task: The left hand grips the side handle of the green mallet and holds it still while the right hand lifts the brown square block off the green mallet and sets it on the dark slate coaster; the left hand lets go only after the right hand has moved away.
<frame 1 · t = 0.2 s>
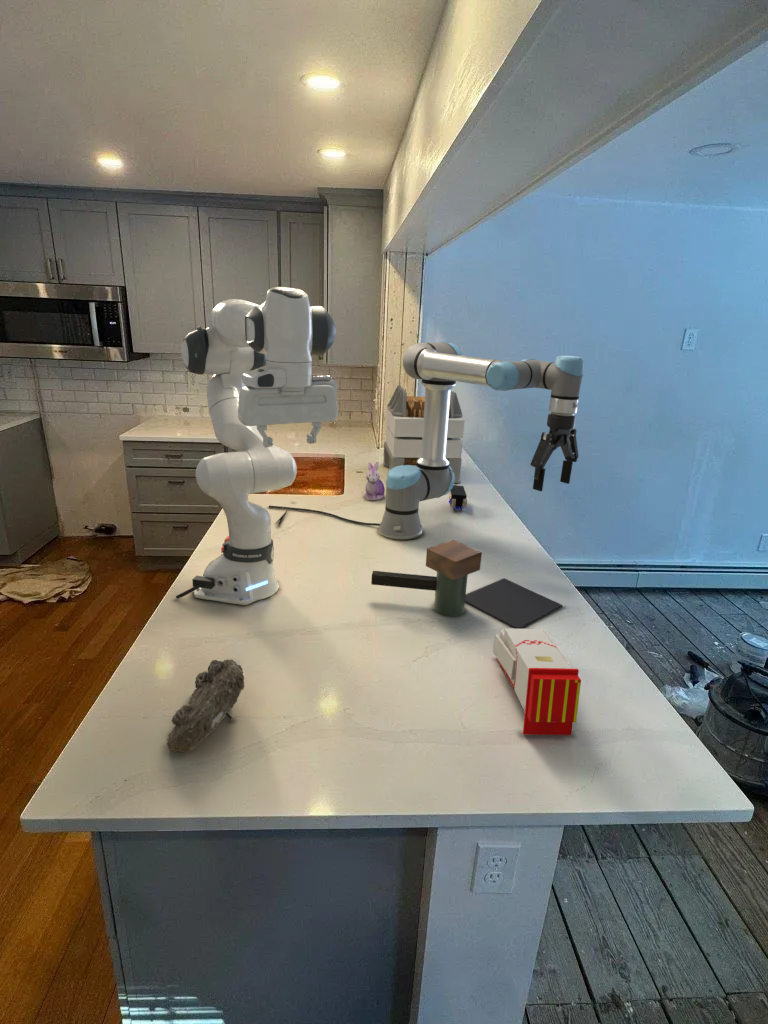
left hand: (290, 444, 116), 48 cm above the counter, fingers open, 8 cm apart
right hand: (551, 486, 165), 28 cm above the counter, fingers open, 13 cm apart
brown square block: (452, 567, 147), point 12 cm above the counter, touching green mallet
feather: (285, 514, 213), on the counter
green mallet: (449, 608, 151), on the counter, touching brown square block
fossil: (212, 717, 108), on the counter
toy: (527, 690, 120), on the counter
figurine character: (456, 507, 229), on the counter
figurine: (374, 497, 237), on the counter
coaster: (510, 603, 156), on the counter
white wooden crate: (419, 473, 275), on the counter
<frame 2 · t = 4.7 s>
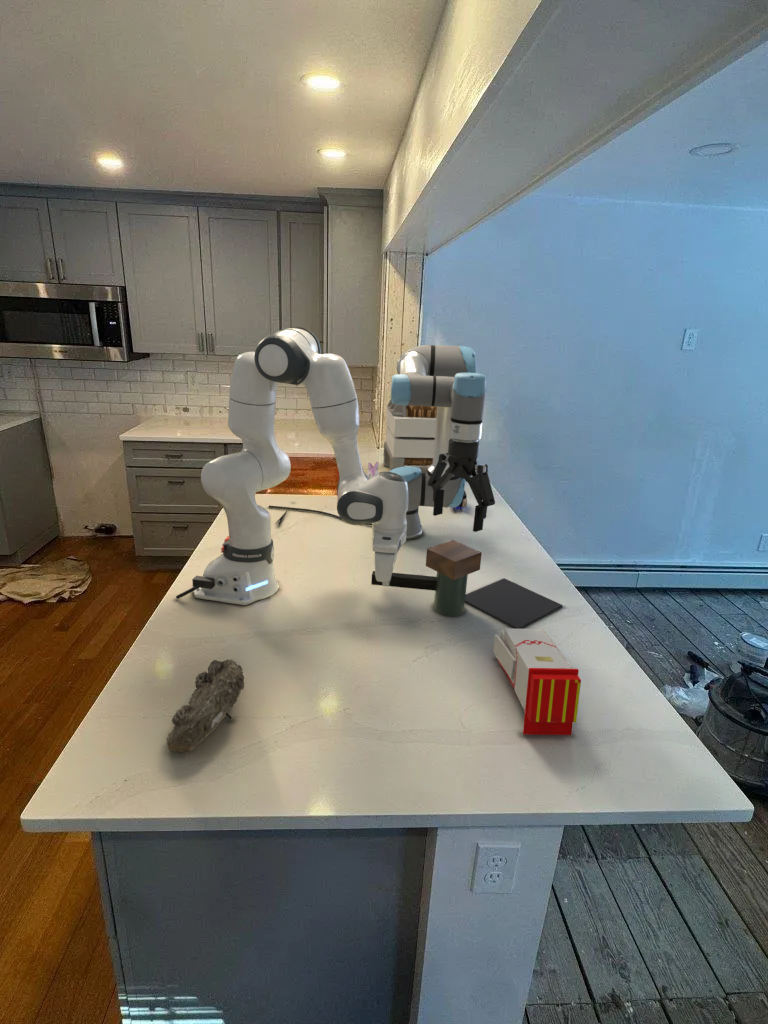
left hand: (386, 582, 151), 6 cm above the counter, fingers closed on green mallet, 2 cm apart
right hand: (457, 522, 143), 25 cm above the counter, fingers open, 13 cm apart
green mallet: (448, 608, 151), on the counter, touching brown square block, left hand
everything else where it was.
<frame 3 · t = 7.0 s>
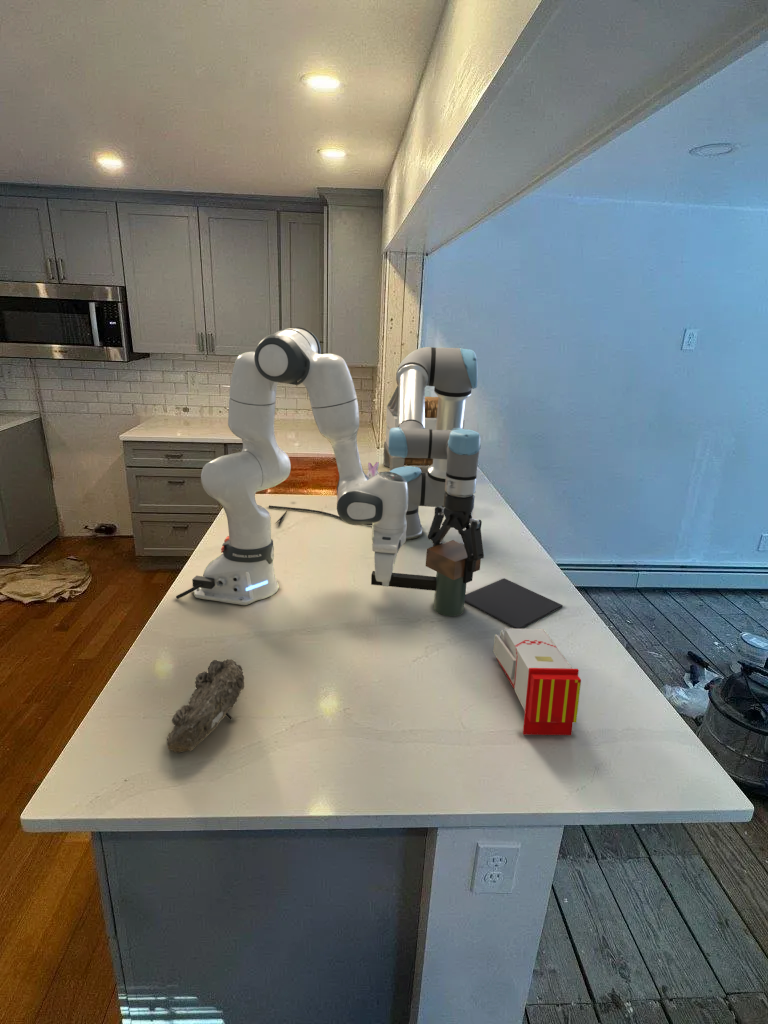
left hand: (386, 582, 151), 6 cm above the counter, fingers closed on green mallet, 2 cm apart
right hand: (452, 574, 148), 10 cm above the counter, fingers closed on brown square block, 10 cm apart
brown square block: (452, 568, 147), point 12 cm above the counter, touching right hand
green mallet: (448, 608, 151), on the counter, touching left hand
everything else where it was.
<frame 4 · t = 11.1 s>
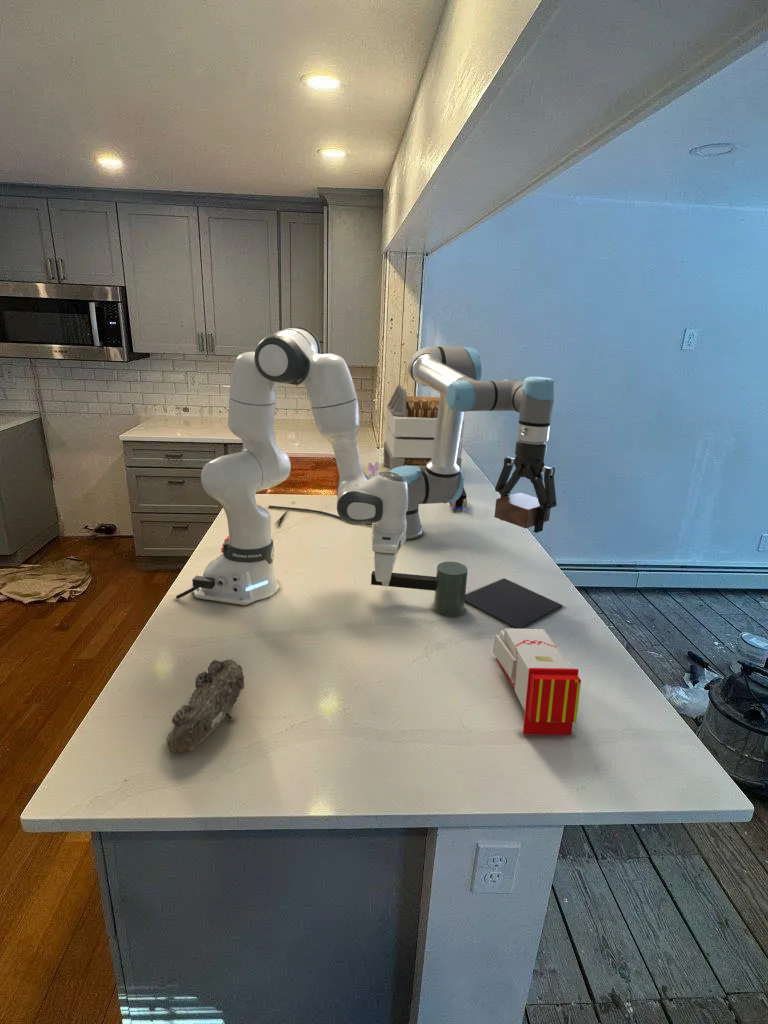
left hand: (386, 582, 151), 6 cm above the counter, fingers closed on green mallet, 2 cm apart
right hand: (520, 525, 148), 23 cm above the counter, fingers closed on brown square block, 10 cm apart
brown square block: (521, 518, 147), point 25 cm above the counter, touching right hand
green mallet: (448, 608, 151), on the counter, touching left hand
everything else where it was.
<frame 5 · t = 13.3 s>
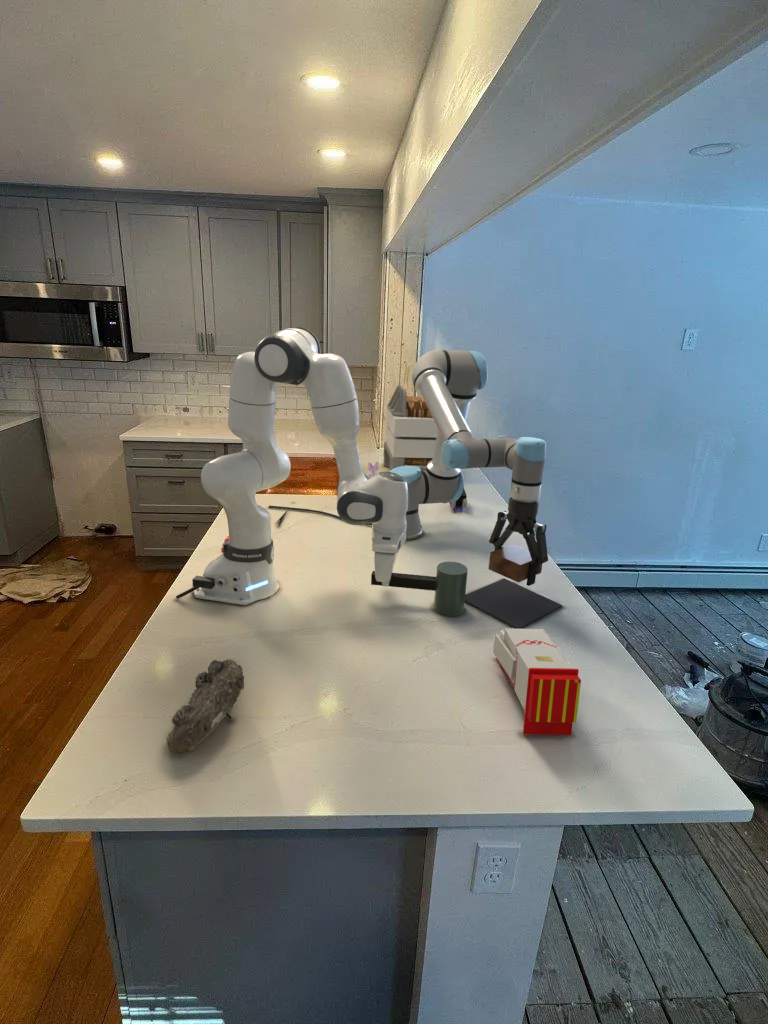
left hand: (386, 582, 151), 6 cm above the counter, fingers closed on green mallet, 2 cm apart
right hand: (514, 576, 153), 8 cm above the counter, fingers closed on brown square block, 10 cm apart
brown square block: (514, 571, 152), point 10 cm above the counter, touching right hand
green mallet: (448, 608, 151), on the counter, touching left hand
everything else where it was.
when the right hand's fingers open (2 cm above the counter, at t = 15.2 s): brown square block drops 3 cm, resting on coaster.
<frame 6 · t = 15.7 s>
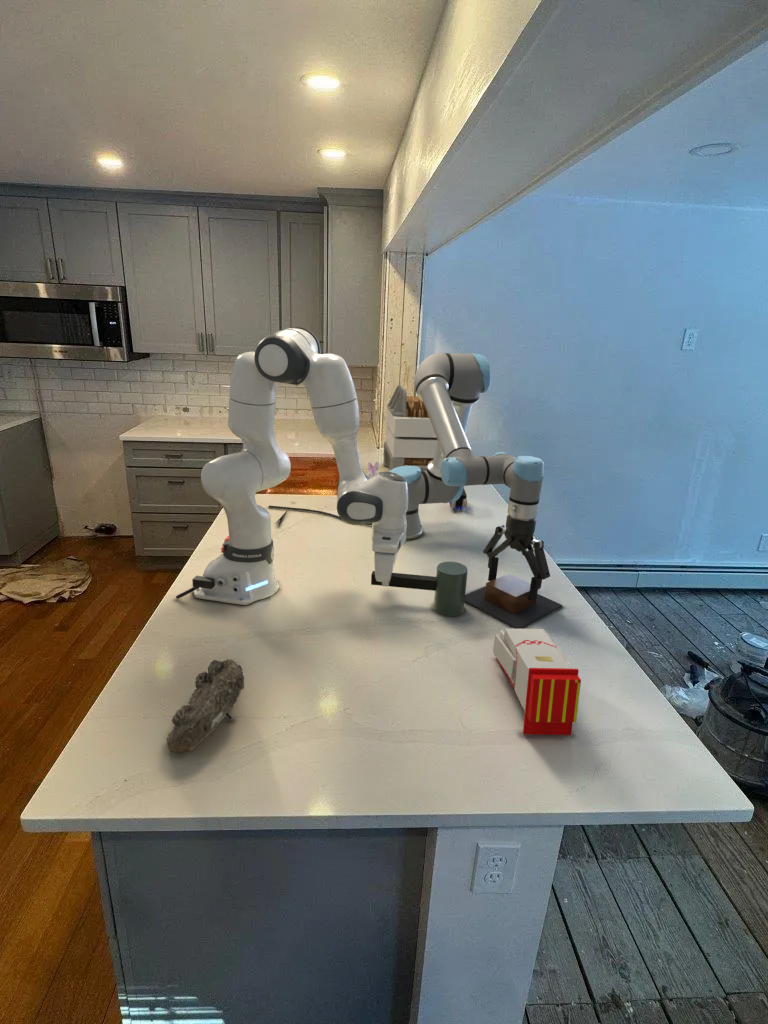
left hand: (386, 582, 151), 6 cm above the counter, fingers closed on green mallet, 2 cm apart
right hand: (511, 589, 154), 4 cm above the counter, fingers open, 13 cm apart
brown square block: (510, 601, 156), point 1 cm above the counter, touching coaster
green mallet: (448, 608, 151), on the counter, touching left hand
everything else where it was.
when the left hand's fingers open (6 cm above the counter, at t = 19.1 s): green mallet stays where it is, on the counter.
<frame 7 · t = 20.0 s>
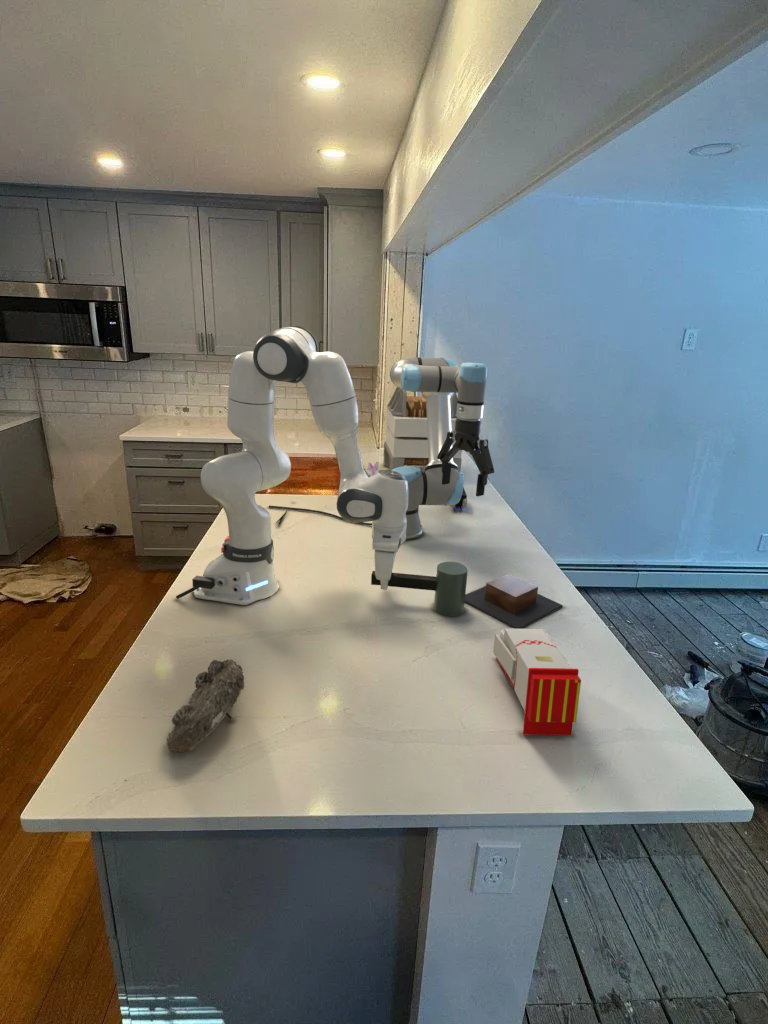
left hand: (386, 580, 151), 6 cm above the counter, fingers open, 8 cm apart
right hand: (462, 489, 169), 25 cm above the counter, fingers open, 13 cm apart
green mallet: (448, 608, 151), on the counter
everything else where it was.
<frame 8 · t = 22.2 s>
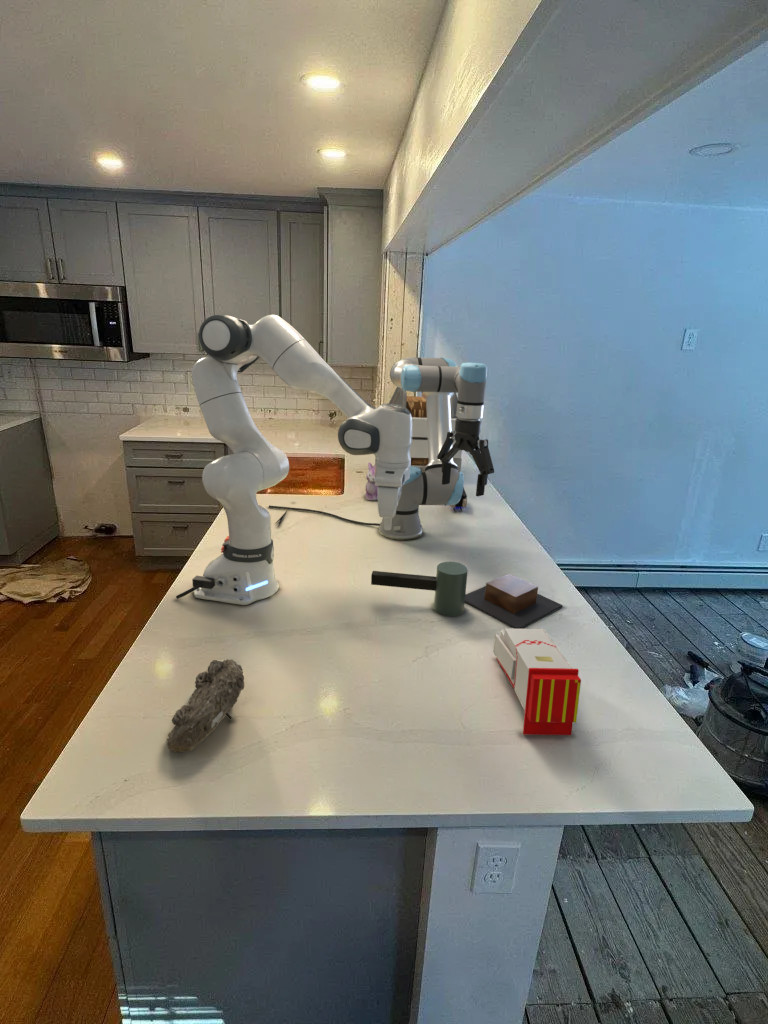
left hand: (390, 522, 145), 23 cm above the counter, fingers open, 8 cm apart
right hand: (462, 489, 169), 25 cm above the counter, fingers open, 13 cm apart
nothing on the counter moved.
at the end: brown square block inside the target area on the coaster (0.1 cm from its centre), point 0.6 cm above the coaster's base; green mallet moved 0.1 cm from its start; the left hand is holding nothing; the right hand is holding nothing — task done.
